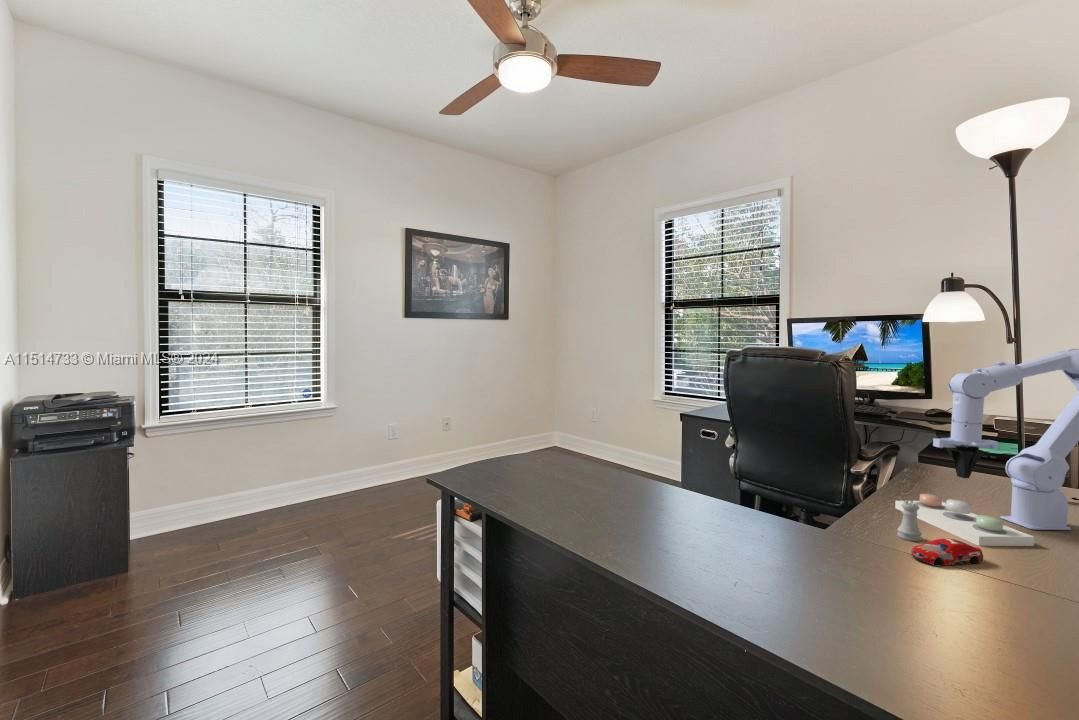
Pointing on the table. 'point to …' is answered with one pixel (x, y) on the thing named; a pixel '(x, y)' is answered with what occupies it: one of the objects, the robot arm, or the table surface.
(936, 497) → the terracotta button
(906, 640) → the table surface
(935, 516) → the button panel
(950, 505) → the grey button
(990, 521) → the sage button
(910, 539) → the rook chess piece
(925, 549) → the race car
